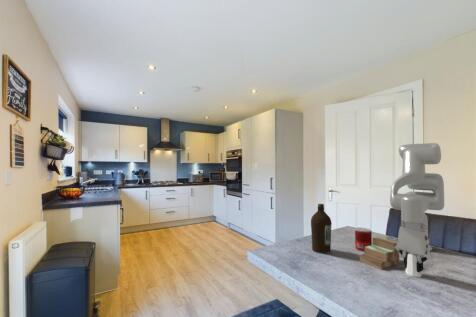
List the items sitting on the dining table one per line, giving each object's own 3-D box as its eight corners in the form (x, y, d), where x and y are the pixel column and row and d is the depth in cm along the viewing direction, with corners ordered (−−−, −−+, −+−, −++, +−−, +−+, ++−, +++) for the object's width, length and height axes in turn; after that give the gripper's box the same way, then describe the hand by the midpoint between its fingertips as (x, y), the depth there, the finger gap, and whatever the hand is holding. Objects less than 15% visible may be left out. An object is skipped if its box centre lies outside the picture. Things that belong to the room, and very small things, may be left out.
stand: (377, 255, 116) (377, 236, 117) (400, 263, 107) (400, 243, 107) (359, 261, 109) (359, 241, 109) (382, 270, 100) (382, 248, 100)
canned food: (374, 252, 121) (373, 231, 121) (357, 251, 122) (357, 230, 123) (368, 247, 128) (368, 227, 129) (353, 246, 130) (353, 227, 130)
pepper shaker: (414, 271, 99) (413, 245, 99) (425, 277, 93) (424, 250, 94) (402, 271, 99) (401, 245, 99) (412, 277, 93) (411, 250, 94)
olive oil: (307, 250, 123) (307, 203, 125) (316, 245, 131) (316, 202, 132) (326, 255, 116) (325, 206, 117) (335, 250, 123) (334, 204, 124)
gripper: (440, 229, 91) (442, 275, 91) (395, 220, 106) (396, 260, 105) (432, 231, 88) (433, 279, 87) (386, 222, 102) (387, 263, 101)
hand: (413, 268), depth 96 cm, fingers closed on pepper shaker, 3 cm apart
